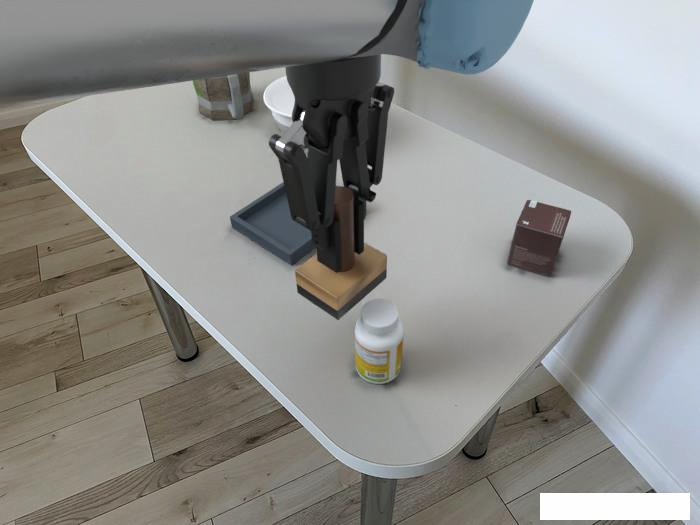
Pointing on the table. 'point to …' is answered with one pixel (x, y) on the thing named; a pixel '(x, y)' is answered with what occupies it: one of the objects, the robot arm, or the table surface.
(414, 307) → the table surface
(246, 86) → the mug
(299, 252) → the tray
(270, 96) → the bowl
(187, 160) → the table surface
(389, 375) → the supplement bottle
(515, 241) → the box
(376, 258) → the peg on wooden base
